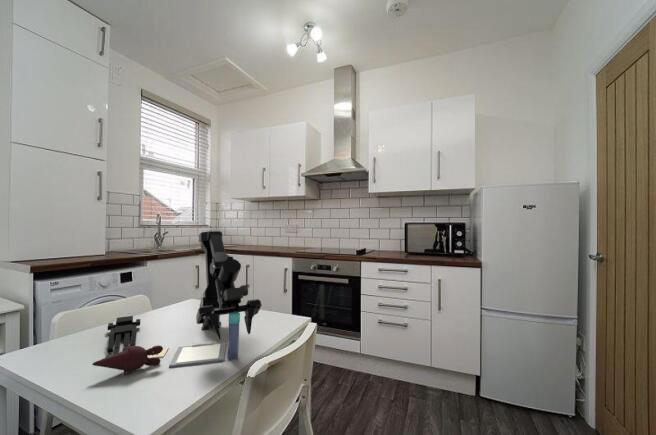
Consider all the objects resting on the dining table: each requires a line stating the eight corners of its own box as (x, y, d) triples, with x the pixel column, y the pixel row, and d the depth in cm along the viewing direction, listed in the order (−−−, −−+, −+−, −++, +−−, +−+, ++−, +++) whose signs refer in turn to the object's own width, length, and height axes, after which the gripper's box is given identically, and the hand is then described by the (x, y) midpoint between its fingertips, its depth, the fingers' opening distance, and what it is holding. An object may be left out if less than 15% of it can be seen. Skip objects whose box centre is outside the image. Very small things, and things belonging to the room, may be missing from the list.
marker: (227, 356, 82) (229, 312, 82) (238, 354, 83) (240, 311, 83) (226, 361, 79) (228, 315, 79) (238, 359, 80) (240, 315, 80)
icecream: (91, 361, 64) (164, 352, 72) (97, 342, 70) (163, 336, 79) (87, 387, 65) (159, 375, 73) (93, 366, 71) (160, 357, 79)
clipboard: (178, 348, 86) (178, 344, 86) (225, 344, 90) (225, 340, 90) (168, 367, 74) (169, 362, 74) (223, 361, 79) (223, 356, 79)
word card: (154, 349, 84) (154, 348, 84) (168, 348, 86) (168, 347, 86) (147, 358, 79) (147, 357, 79) (163, 357, 80) (163, 355, 80)
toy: (140, 363, 79) (139, 326, 103) (141, 346, 79) (140, 314, 103) (97, 372, 73) (108, 331, 98) (98, 354, 73) (108, 318, 98)
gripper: (199, 279, 80) (205, 329, 70) (260, 274, 90) (273, 317, 81) (194, 300, 86) (198, 348, 76) (251, 293, 96) (262, 335, 87)
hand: (234, 336), depth 80 cm, fingers open, 8 cm apart
